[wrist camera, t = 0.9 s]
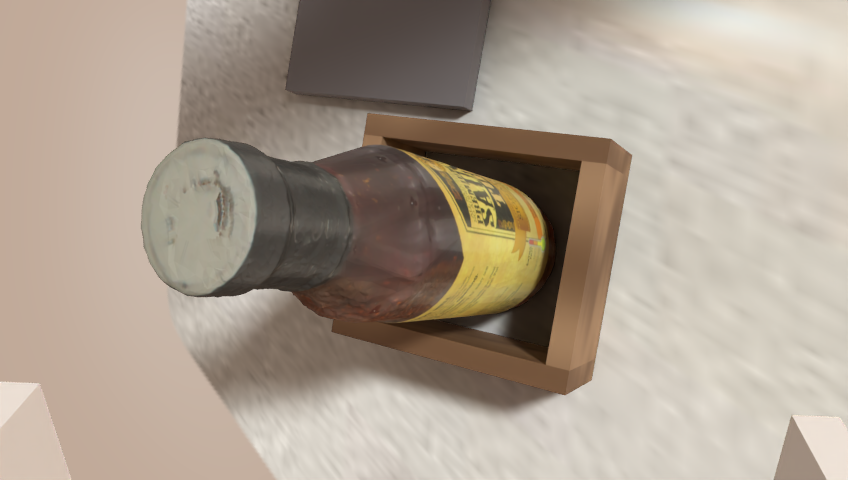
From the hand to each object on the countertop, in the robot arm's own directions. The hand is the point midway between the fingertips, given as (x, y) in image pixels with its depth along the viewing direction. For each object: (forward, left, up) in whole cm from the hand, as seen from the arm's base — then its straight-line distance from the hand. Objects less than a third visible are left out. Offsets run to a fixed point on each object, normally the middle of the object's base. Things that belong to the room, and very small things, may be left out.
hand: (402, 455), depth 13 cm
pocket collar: (-3, -7, -22) cm, 23 cm away
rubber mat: (-15, -15, -22) cm, 30 cm away
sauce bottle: (-3, -7, -22) cm, 23 cm away
